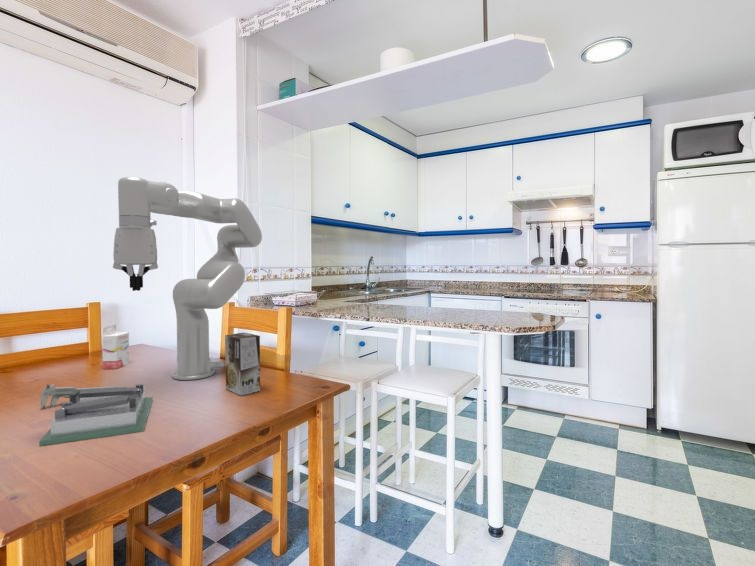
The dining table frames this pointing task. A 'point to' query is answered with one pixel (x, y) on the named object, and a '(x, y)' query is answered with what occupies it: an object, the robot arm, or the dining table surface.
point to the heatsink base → (99, 419)
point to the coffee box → (242, 363)
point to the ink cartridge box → (115, 348)
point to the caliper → (63, 393)
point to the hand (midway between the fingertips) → (136, 290)
